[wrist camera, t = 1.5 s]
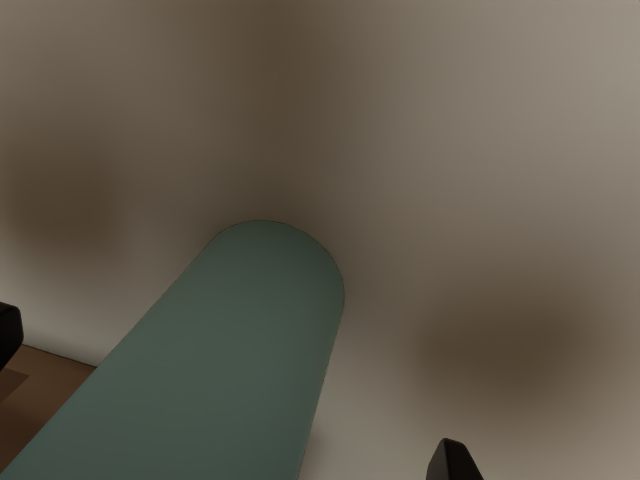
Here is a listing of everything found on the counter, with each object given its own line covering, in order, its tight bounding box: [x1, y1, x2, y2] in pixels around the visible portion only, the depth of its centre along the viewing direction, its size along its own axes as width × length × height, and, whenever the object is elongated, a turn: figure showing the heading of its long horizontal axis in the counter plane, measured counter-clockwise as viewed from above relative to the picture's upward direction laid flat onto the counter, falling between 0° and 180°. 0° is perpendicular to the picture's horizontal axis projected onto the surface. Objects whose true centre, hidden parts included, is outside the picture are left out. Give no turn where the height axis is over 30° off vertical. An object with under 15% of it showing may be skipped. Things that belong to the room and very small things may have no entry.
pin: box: [0, 220, 344, 480], centre depth 9 cm, size 4×4×8 cm
